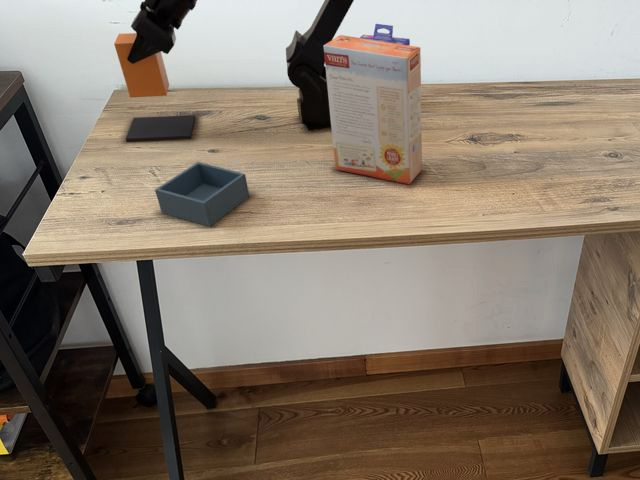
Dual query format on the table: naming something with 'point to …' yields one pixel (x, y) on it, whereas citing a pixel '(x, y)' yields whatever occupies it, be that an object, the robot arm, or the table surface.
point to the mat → (161, 128)
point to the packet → (141, 70)
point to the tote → (202, 193)
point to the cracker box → (375, 107)
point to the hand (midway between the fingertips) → (132, 56)
